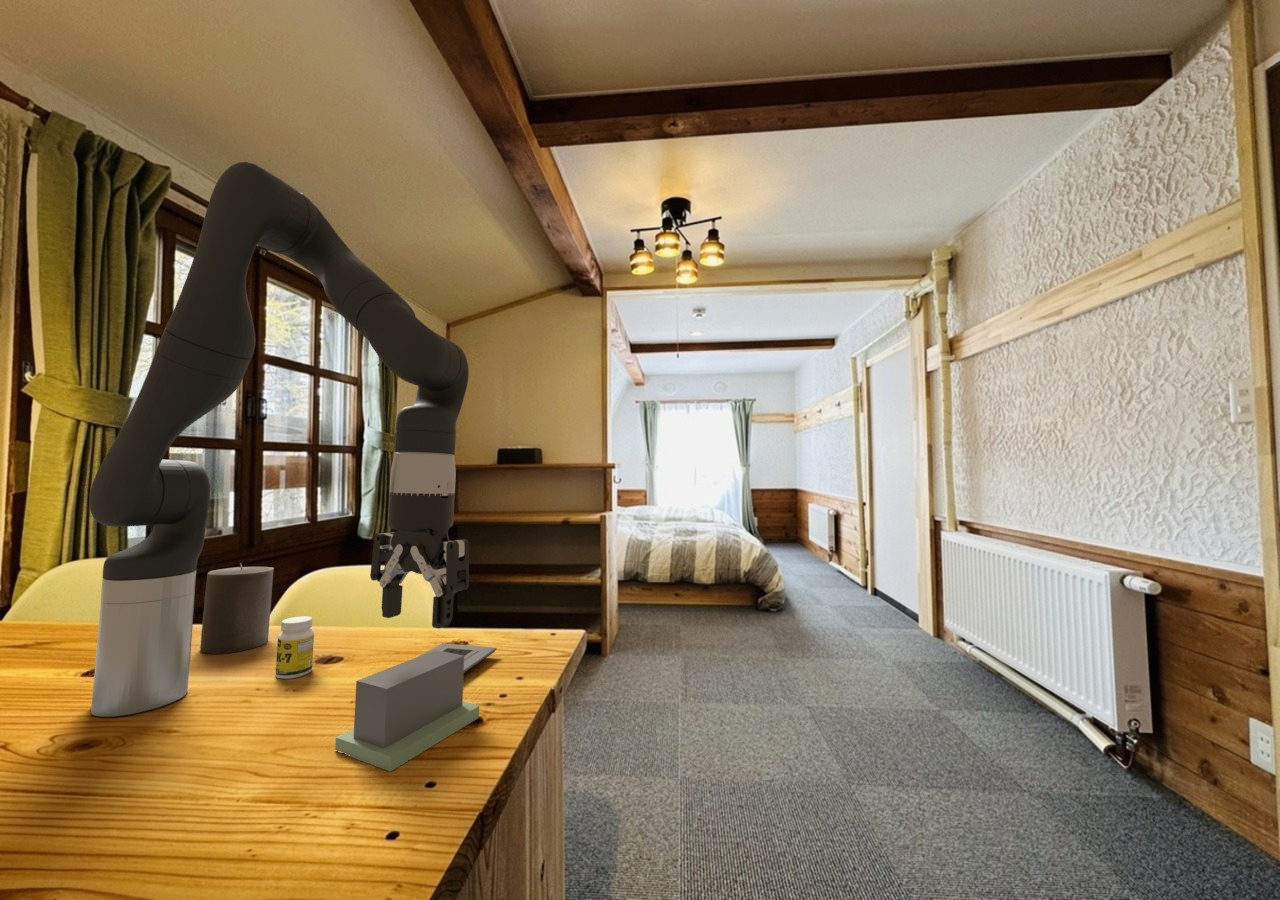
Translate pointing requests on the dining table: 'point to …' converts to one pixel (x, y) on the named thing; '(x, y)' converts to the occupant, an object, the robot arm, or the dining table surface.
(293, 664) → the supplement bottle
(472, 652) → the electrical outlet
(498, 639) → the dining table surface
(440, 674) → the block
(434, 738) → the header board
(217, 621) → the pillar candle
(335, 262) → the robot arm
